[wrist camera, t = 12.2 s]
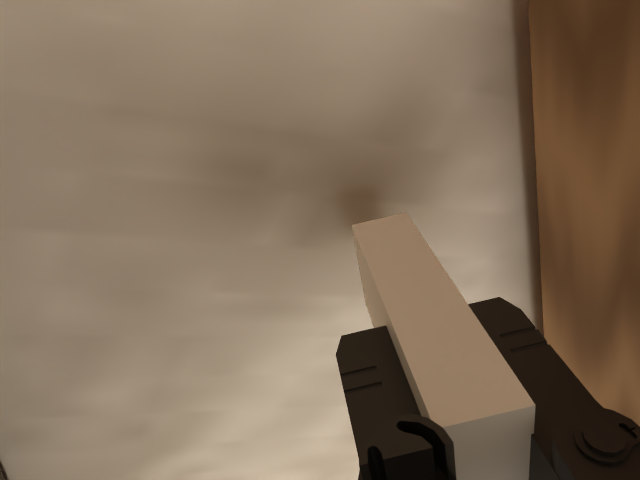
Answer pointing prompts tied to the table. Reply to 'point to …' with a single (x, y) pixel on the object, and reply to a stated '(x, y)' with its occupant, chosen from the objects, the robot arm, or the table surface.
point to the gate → (590, 189)
